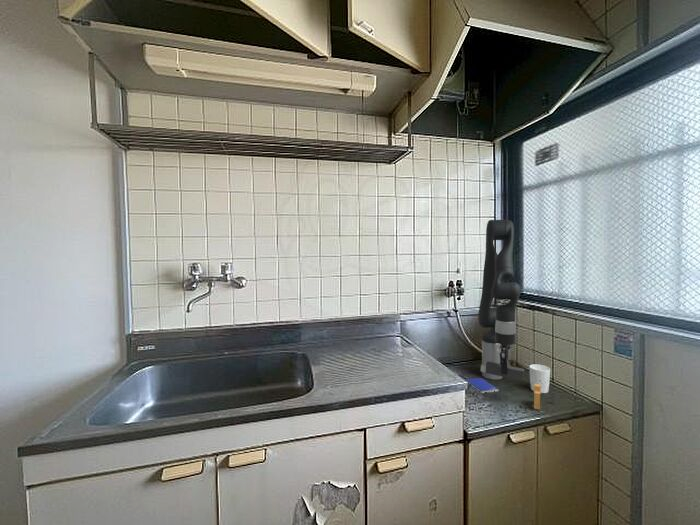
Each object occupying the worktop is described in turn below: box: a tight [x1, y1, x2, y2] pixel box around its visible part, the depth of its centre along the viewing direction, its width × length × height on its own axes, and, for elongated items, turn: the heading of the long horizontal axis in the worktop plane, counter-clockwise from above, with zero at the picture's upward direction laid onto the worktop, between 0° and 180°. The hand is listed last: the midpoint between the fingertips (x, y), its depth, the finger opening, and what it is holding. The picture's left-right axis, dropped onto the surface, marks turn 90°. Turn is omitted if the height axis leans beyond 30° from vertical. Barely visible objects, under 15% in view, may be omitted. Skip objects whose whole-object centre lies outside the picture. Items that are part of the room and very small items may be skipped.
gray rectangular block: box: [480, 361, 525, 382], centre depth 137 cm, size 3×16×4 cm, turn 60°
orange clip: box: [533, 384, 541, 411], centre depth 131 cm, size 6×2×8 cm, turn 150°
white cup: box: [529, 363, 551, 394], centre depth 145 cm, size 8×8×10 cm
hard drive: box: [465, 377, 499, 394], centre depth 150 cm, size 2×8×12 cm
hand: (504, 372), depth 136 cm, fingers closed on gray rectangular block, 3 cm apart
